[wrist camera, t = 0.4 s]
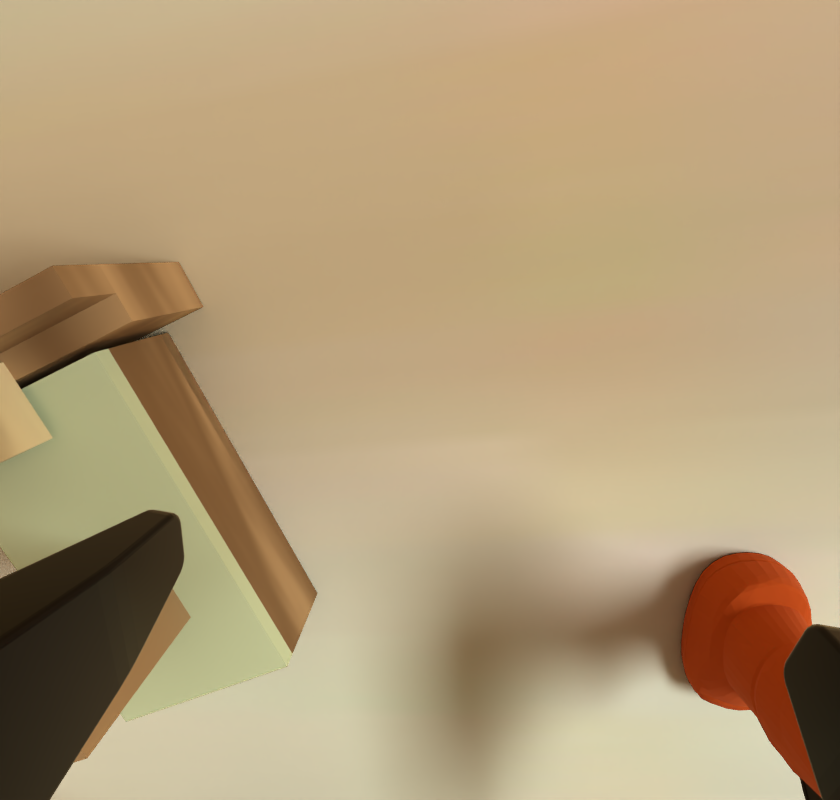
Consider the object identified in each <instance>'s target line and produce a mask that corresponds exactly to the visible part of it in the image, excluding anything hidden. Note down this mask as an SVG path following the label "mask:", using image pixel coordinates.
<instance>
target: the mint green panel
mask: <svg viewBox="0 0 840 800" xmlns="http://www.w3.org/2000/svg"><path fill="white" fill-rule="evenodd" d="M21 390H22V391H23V393H24V395H25V396H26V398H27V399H28V401H29V402H30V404H31V405H32V407H33V408H34V410H35V411H36V413H37V414H38V416H39V417H40V419H41V420H42V422H43V423H44V425H45V427H46V428H47V430H48V431H49V433H50V434H51V436H52V437H53V438H52V439H50V440H48V441H46V442H44V443H42V444H40V445H37V446H35V447H33V448H31V449H29V450H27V451H25V452H23V453H21V454H18V455H16V456H14V457H12V458H10V459H8V460H6V461H4V462H2V463H0V547H1V549H2V550H3V551H4V553H5V554H6V556H7V557H8V558H9V560H10V561H11V563H12V564H13V565H14V567H15V568H16V570H17V571H18V570H20V569H22V568H24V567H26V566H28V565H31V564H33V563H35V562H37V561H39V560H41V559H43V558H46V557H48V556H50V555H52V554H54V553H56V552H59V551H61V550H63V549H65V548H67V547H69V546H71V545H74V544H76V543H78V542H80V541H82V540H84V539H86V538H89V537H91V536H93V535H95V534H97V533H99V532H101V531H104V530H106V529H108V528H110V527H112V526H114V525H117V524H119V523H121V522H123V521H125V520H127V519H129V518H132V517H134V516H136V515H138V514H140V513H142V512H145V511H147V510H159V511H165V512H171V513H175V514H176V515H178V516H179V518H180V521H181V528H182V538H183V547H184V564H183V568H182V570H181V573H180V575H179V577H178V579H177V581H176V583H175V585H174V587H173V589H172V591H171V593H170V595H169V597H168V599H167V601H166V603H165V605H164V607H163V609H162V611H161V613H160V615H159V617H158V619H157V621H156V623H155V625H154V627H153V629H152V631H151V633H150V635H149V637H148V639H147V641H146V643H145V645H144V647H143V649H142V651H141V653H140V655H139V656H138V658H137V660H136V662H135V664H134V666H133V668H132V669H131V671H130V673H129V675H128V676H127V678H126V680H125V681H124V683H123V685H122V686H121V688H120V690H119V691H118V693H117V694H116V696H115V697H114V699H113V701H112V702H111V704H110V705H109V707H108V709H107V710H106V712H105V713H104V715H103V716H102V718H101V720H100V721H99V723H98V724H97V726H96V727H95V729H94V731H93V732H92V734H91V735H90V737H89V739H88V740H87V742H86V743H85V745H84V746H83V748H82V750H81V751H80V753H79V754H78V756H77V758H76V759H75V761H74V762H77V761H80V760H83V759H86V758H88V756H89V755H90V754H91V752H92V751H93V750H94V748H95V747H96V746H97V744H98V743H99V741H100V740H101V739H102V737H103V736H104V735H105V733H106V732H107V731H108V729H109V728H110V726H111V725H112V724H113V722H114V721H115V720H116V718H117V717H118V716H119V714H121V715H122V717H123V718H124V720H125V721H126V722H127V721H130V720H133V719H136V718H139V717H142V716H145V715H148V714H150V713H153V712H156V711H159V710H162V709H165V708H168V707H171V706H174V705H177V704H180V703H182V702H185V701H188V700H191V699H194V698H197V697H200V696H203V695H206V694H209V693H212V692H214V691H217V690H220V689H223V688H226V687H229V686H232V685H235V684H238V683H241V682H244V681H247V680H249V679H252V678H255V677H258V676H261V675H264V674H267V673H270V672H273V671H276V670H279V669H281V668H284V667H287V666H288V663H289V661H290V658H291V656H292V652H291V651H290V649H289V647H288V646H287V644H286V642H285V641H284V639H283V637H282V636H281V634H280V632H279V631H278V629H277V627H276V626H275V624H274V622H273V621H272V619H271V617H270V616H269V614H268V612H267V611H266V609H265V608H264V606H263V604H262V603H261V601H260V599H259V598H258V596H257V594H256V593H255V591H254V589H253V588H252V586H251V584H250V583H249V581H248V579H247V578H246V576H245V574H244V573H243V571H242V569H241V568H240V566H239V564H238V563H237V561H236V560H235V558H234V556H233V555H232V553H231V551H230V550H229V548H228V546H227V545H226V543H225V541H224V540H223V538H222V536H221V535H220V533H219V531H218V530H217V528H216V526H215V525H214V523H213V521H212V520H211V518H210V516H209V515H208V513H207V511H206V510H205V508H204V507H203V505H202V503H201V502H200V500H199V498H198V497H197V495H196V493H195V492H194V490H193V488H192V487H191V485H190V483H189V482H188V480H187V478H186V477H185V475H184V473H183V472H182V470H181V468H180V467H179V465H178V463H177V462H176V460H175V458H174V457H173V455H172V454H171V452H170V450H169V449H168V447H167V445H166V444H165V442H164V440H163V439H162V437H161V435H160V434H159V432H158V430H157V429H156V427H155V425H154V424H153V422H152V420H151V419H150V417H149V415H148V414H147V412H146V410H145V409H144V407H143V406H142V404H141V402H140V401H139V399H138V397H137V396H136V394H135V392H134V391H133V389H132V387H131V386H130V384H129V382H128V381H127V379H126V377H125V376H124V374H123V372H122V371H121V369H120V367H119V366H118V364H117V362H116V361H115V359H114V357H113V356H112V354H111V353H110V351H109V349H105V350H101V351H98V352H94V353H92V354H90V355H88V356H86V357H84V358H82V359H80V360H78V361H76V362H74V363H72V364H70V365H68V366H66V367H64V368H62V369H60V370H58V371H56V372H54V373H52V374H50V375H48V376H46V377H44V378H43V379H41V380H39V381H37V382H35V383H33V384H31V385H29V386H27V387H25V388H23V389H21ZM74 762H73V763H74Z"/></svg>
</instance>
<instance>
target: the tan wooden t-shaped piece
mask: <svg viewBox="0 0 840 800" xmlns="http://www.w3.org/2000/svg"><path fill="white" fill-rule="evenodd" d="M202 307H203V305H202V303H201V302H200V300H199V298H198V296H197V294H196V292H195V291H194V289H193V287H192V285H191V283H190V282H189V280H188V278H187V276H186V274H185V272H184V271H183V269H182V267H181V265H180V263H179V262H169V263H133V264H97V265H61V266H51V267H49V268H47V269H46V270H44V271H42V272H40V273H38V274H37V275H35V276H33V277H31V278H29V279H27V280H26V281H24V282H22V283H20V284H18V285H16V286H15V287H13V288H11V289H9V290H7V291H5V292H4V293H2V294H0V363H4V364H5V366H6V367H7V369H8V370H9V372H10V373H11V375H12V376H13V378H14V379H15V381H16V382H17V384H18V385H19V387H20V388H21V389H23V388H25V387H27V386H29V385H31V384H33V383H35V382H37V381H39V380H41V379H43V378H44V377H46V376H48V375H50V374H52V373H54V372H56V371H58V370H60V369H62V368H64V367H66V366H68V365H70V364H72V363H74V362H76V361H78V360H80V359H82V358H84V357H86V356H88V355H90V354H92V353H94V352H98V351H101V350H105V349H109V351H110V353H111V354H112V356H113V357H114V359H115V361H116V362H117V364H118V366H119V367H120V369H121V371H122V372H123V374H124V376H125V377H126V379H127V381H128V382H129V384H130V386H131V387H132V389H133V391H134V392H135V394H136V396H137V397H138V399H139V401H140V402H141V404H142V406H143V407H144V409H145V410H146V412H147V414H148V415H149V417H150V419H151V420H152V422H153V424H154V425H155V427H156V429H157V430H158V432H159V434H160V435H161V437H162V439H163V440H164V442H165V444H166V445H167V447H168V449H169V450H170V452H171V454H172V455H173V457H174V458H175V460H176V462H177V463H178V465H179V467H180V468H181V470H182V472H183V473H184V475H185V477H186V478H187V480H188V482H189V483H190V485H191V487H192V488H193V490H194V492H195V493H196V495H197V497H198V498H199V500H200V502H201V503H202V505H203V507H204V508H205V510H206V511H207V513H208V515H209V516H210V518H211V520H212V521H213V523H214V525H215V526H216V528H217V530H218V531H219V533H220V535H221V536H222V538H223V540H224V541H225V543H226V545H227V546H228V548H229V550H230V551H231V553H232V555H233V556H234V558H235V560H236V561H237V563H238V564H239V566H240V568H241V569H242V571H243V573H244V574H245V576H246V578H247V579H248V581H249V583H250V584H251V586H252V588H253V589H254V591H255V593H256V594H257V596H258V598H259V599H260V601H261V603H262V604H263V606H264V608H265V609H266V611H267V612H268V614H269V616H270V617H271V619H272V621H273V622H274V624H275V626H276V627H277V629H278V631H279V632H280V634H281V636H282V637H283V639H284V641H285V642H286V644H287V646H288V647H289V649H290V651H291V652H292V653H293V651H294V649H295V646H296V644H297V641H298V639H299V637H300V634H301V632H302V629H303V627H304V624H305V622H306V620H307V617H308V615H309V612H310V610H311V607H312V605H313V603H314V600H315V598H316V595H317V592H316V590H315V588H314V587H313V585H312V583H311V581H310V580H309V578H308V576H307V574H306V573H305V571H304V569H303V568H302V566H301V564H300V562H299V561H298V559H297V557H296V555H295V554H294V552H293V550H292V548H291V547H290V545H289V543H288V541H287V540H286V538H285V536H284V534H283V533H282V531H281V529H280V527H279V526H278V524H277V522H276V520H275V519H274V517H273V515H272V513H271V512H270V510H269V508H268V506H267V505H266V503H265V501H264V499H263V498H262V496H261V494H260V492H259V491H258V489H257V487H256V485H255V484H254V482H253V480H252V478H251V477H250V475H249V473H248V471H247V470H246V468H245V466H244V464H243V463H242V461H241V459H240V457H239V456H238V454H237V452H236V450H235V449H234V447H233V445H232V443H231V442H230V440H229V438H228V436H227V435H226V433H225V431H224V429H223V428H222V426H221V424H220V422H219V421H218V419H217V417H216V415H215V414H214V412H213V410H212V408H211V407H210V405H209V403H208V401H207V400H206V398H205V396H204V394H203V393H202V391H201V389H200V387H199V386H198V384H197V382H196V380H195V379H194V377H193V375H192V373H191V372H190V370H189V368H188V366H187V365H186V363H185V361H184V359H183V358H182V356H181V354H180V352H179V351H178V349H177V347H176V345H175V344H174V342H173V340H172V338H171V337H170V335H169V333H164V334H161V335H157V336H153V337H149V338H146V339H142V340H138V339H140V338H142V337H144V336H146V335H148V334H150V333H152V332H154V331H156V330H158V329H160V328H162V327H164V326H166V325H168V324H170V323H172V322H174V321H176V320H178V319H180V318H182V317H184V316H186V315H188V314H190V313H192V312H194V311H196V310H198V309H200V308H202ZM136 340H138V341H136ZM133 341H135V342H133Z"/></svg>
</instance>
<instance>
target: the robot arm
mask: <svg viewBox="0 0 840 800" xmlns="http://www.w3.org/2000/svg"><path fill="white" fill-rule="evenodd" d="M183 564H184V547H183V538H182V528H181V521H180V518H179V516H178V515H176V514H175V513H171V512H165V511H159V510H147V511H145V512H142V513H140V514H138V515H136V516H134V517H132V518H129V519H127V520H125V521H123V522H121V523H119V524H117V525H114V526H112V527H110V528H108V529H106V530H104V531H101V532H99V533H97V534H95V535H93V536H91V537H89V538H86V539H84V540H82V541H80V542H78V543H76V544H74V545H71V546H69V547H67V548H65V549H63V550H61V551H59V552H56V553H54V554H52V555H50V556H48V557H46V558H43V559H41V560H39V561H37V562H35V563H33V564H31V565H28V566H26V567H24V568H22V569H20V570H18V571H16V572H13V573H11V574H9V575H7V576H5V577H3V578H1V579H0V800H50V799H51V797H52V795H53V794H54V792H55V791H56V789H57V788H58V786H59V784H60V783H61V781H62V780H63V778H64V777H65V775H66V773H67V772H68V770H69V769H70V767H71V765H72V764H73V762H74V761H75V759H76V758H77V756H78V754H79V753H80V751H81V750H82V748H83V746H84V745H85V743H86V742H87V740H88V739H89V737H90V735H91V734H92V732H93V731H94V729H95V727H96V726H97V724H98V723H99V721H100V720H101V718H102V716H103V715H104V713H105V712H106V710H107V709H108V707H109V705H110V704H111V702H112V701H113V699H114V697H115V696H116V694H117V693H118V691H119V690H120V688H121V686H122V685H123V683H124V681H125V680H126V678H127V676H128V675H129V673H130V671H131V669H132V668H133V666H134V664H135V662H136V660H137V658H138V656H139V655H140V653H141V651H142V649H143V647H144V645H145V643H146V641H147V639H148V637H149V635H150V633H151V631H152V629H153V627H154V625H155V623H156V621H157V619H158V617H159V615H160V613H161V611H162V609H163V607H164V605H165V603H166V601H167V599H168V597H169V595H170V593H171V591H172V589H173V587H174V585H175V583H176V581H177V579H178V577H179V575H180V573H181V570H182V568H183ZM784 681H785V685H786V688H787V691H788V694H789V697H790V700H791V704H792V707H793V710H794V713H795V716H796V720H797V723H798V726H799V729H800V732H801V735H802V739H803V742H804V745H805V748H806V751H807V754H808V758H809V761H810V764H811V767H812V770H813V774H814V777H815V780H816V783H817V786H818V789H819V792H820V795H821V798H822V800H840V628H837V627H832V626H826V625H820V624H814V625H811V626H809V627H807V628H806V630H805V631H804V633H803V634H802V636H801V637H800V639H799V641H798V642H797V644H796V645H795V647H794V649H793V650H792V652H791V653H790V655H789V657H788V658H787V660H786V662H785V665H784Z"/></svg>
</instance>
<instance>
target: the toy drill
mask: <svg viewBox="0 0 840 800" xmlns="http://www.w3.org/2000/svg"><path fill="white" fill-rule="evenodd" d="M811 625H812V621H811V609H810V606H809V603H808V599H807V597H806V595H805V593H804V591H803V589H802V587H801V585H800V583H799V582H798V580H797V579H796V577H795V576H794V575H793V573H791V572H790V571H789V570H788V569H787V568H785V567H784V566H783V565H782V564H780V563H779V562H778V561H776V560H775V559H773V558H771V557H769V556H766V555H763V554H759V553H748V552H747V553H735V554H731V555H727V556H724V557H722V558H720V559H718V560H716V561H714V562H713V563H712V564H711V565H709V566H708V567H707V568H706V569H705V570H704V571H703V572H702V574H701V576H700V577H699V579H698V580H697V582H696V584H695V586H694V589H693V591H692V594H691V596H690V599H689V603H688V606H687V610H686V613H685V619H684V624H683V631H682V641H681V655H682V660H683V666H684V670H685V674H686V676H687V679H688V681H689V683H690V684H691V686H692V687H693V689H694V690H695V692H697V693H698V695H699V696H700V697H701V698H702V699H703V700H706V701H708V702H710V703H712V704H715V705H718V706H721V707H724V708H727V709H733V710H751V711H752V712H753V713H754V714H755V715H756V716H757V718H758V720H759V722H760V724H761V726H762V728H763V730H764V732H765V734H766V735H767V737H768V739H769V741H770V742H771V744H772V745H773V746H774V747H775V749H776V750H777V751H778V752H779V753H780V755H781V756H782V757H783V758H784V760H785V761H786V762H787V764H788V765H789V766H790V768H791V769H792V770H793V772H795V773H796V774H797V775H798V776H799V777H800V780H801V784H802V788H803V792H804V796H805V799H806V800H822V798H821V795H820V792H819V789H818V786H817V783H816V780H815V777H814V774H813V770H812V767H811V764H810V761H809V758H808V754H807V751H806V748H805V745H804V742H803V739H802V735H801V732H800V729H799V726H798V723H797V720H796V716H795V713H794V710H793V707H792V704H791V700H790V697H789V694H788V691H787V688H786V685H785V681H784V665H785V662H786V660H787V658H788V657H789V655H790V653H791V652H792V650H793V649H794V647H795V645H796V644H797V642H798V641H799V639H800V637H801V636H802V634H803V633H804V631H805V630H806V628H807V627H809V626H811Z"/></svg>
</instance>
